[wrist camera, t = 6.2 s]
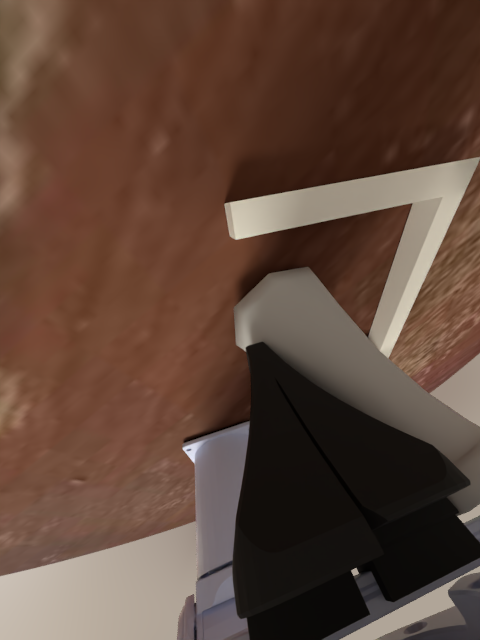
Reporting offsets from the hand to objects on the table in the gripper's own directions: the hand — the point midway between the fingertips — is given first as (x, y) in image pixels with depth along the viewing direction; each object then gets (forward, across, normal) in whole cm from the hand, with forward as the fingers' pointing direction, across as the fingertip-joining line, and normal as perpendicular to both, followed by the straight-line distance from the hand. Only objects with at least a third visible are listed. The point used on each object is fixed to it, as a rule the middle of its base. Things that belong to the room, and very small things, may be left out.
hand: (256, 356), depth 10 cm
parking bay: (+3, -6, 0) cm, 7 cm away
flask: (+3, -3, 0) cm, 4 cm away
